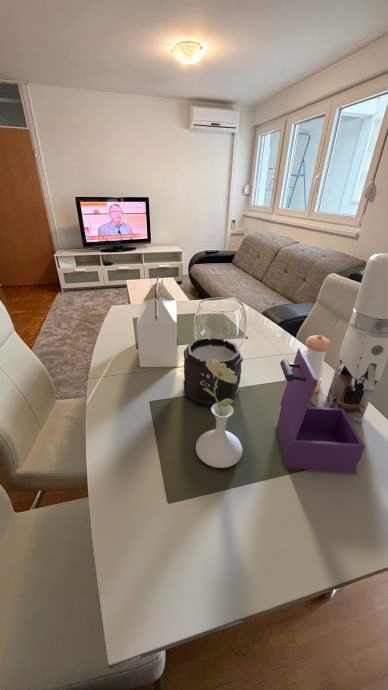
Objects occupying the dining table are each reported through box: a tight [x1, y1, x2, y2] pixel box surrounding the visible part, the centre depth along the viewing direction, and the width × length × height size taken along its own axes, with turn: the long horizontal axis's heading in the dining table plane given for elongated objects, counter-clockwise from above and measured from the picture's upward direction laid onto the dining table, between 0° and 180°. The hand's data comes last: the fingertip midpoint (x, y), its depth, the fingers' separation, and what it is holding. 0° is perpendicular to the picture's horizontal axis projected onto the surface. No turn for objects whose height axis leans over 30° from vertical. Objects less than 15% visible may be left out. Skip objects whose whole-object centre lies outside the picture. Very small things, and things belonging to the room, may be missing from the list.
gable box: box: [136, 276, 178, 368], centre depth 110 cm, size 22×13×28 cm, turn 3°
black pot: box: [183, 337, 244, 408], centre depth 92 cm, size 18×18×16 cm
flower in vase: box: [195, 359, 243, 469], centre depth 68 cm, size 13×11×25 cm
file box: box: [276, 406, 366, 474], centre depth 73 cm, size 16×13×9 cm
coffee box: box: [324, 359, 378, 423], centre depth 84 cm, size 9×6×16 cm
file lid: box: [279, 347, 318, 441], centre depth 67 cm, size 16×13×5 cm
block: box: [333, 374, 365, 403], centre depth 65 cm, size 4×4×4 cm
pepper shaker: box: [305, 334, 331, 394], centre depth 94 cm, size 7×7×19 cm
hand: (346, 395), depth 66 cm, fingers closed on block, 4 cm apart
